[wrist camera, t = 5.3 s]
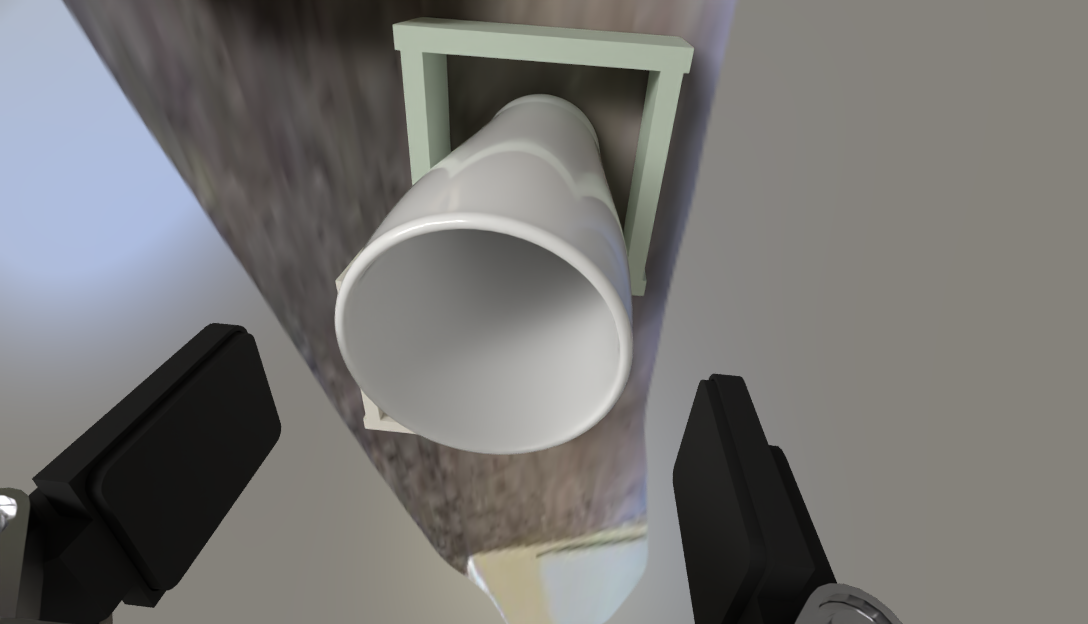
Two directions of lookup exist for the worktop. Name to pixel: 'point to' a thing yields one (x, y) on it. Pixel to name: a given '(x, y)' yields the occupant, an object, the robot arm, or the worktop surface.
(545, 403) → the white cup
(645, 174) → the sage frame
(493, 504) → the worktop surface
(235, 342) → the robot arm
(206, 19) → the worktop surface
